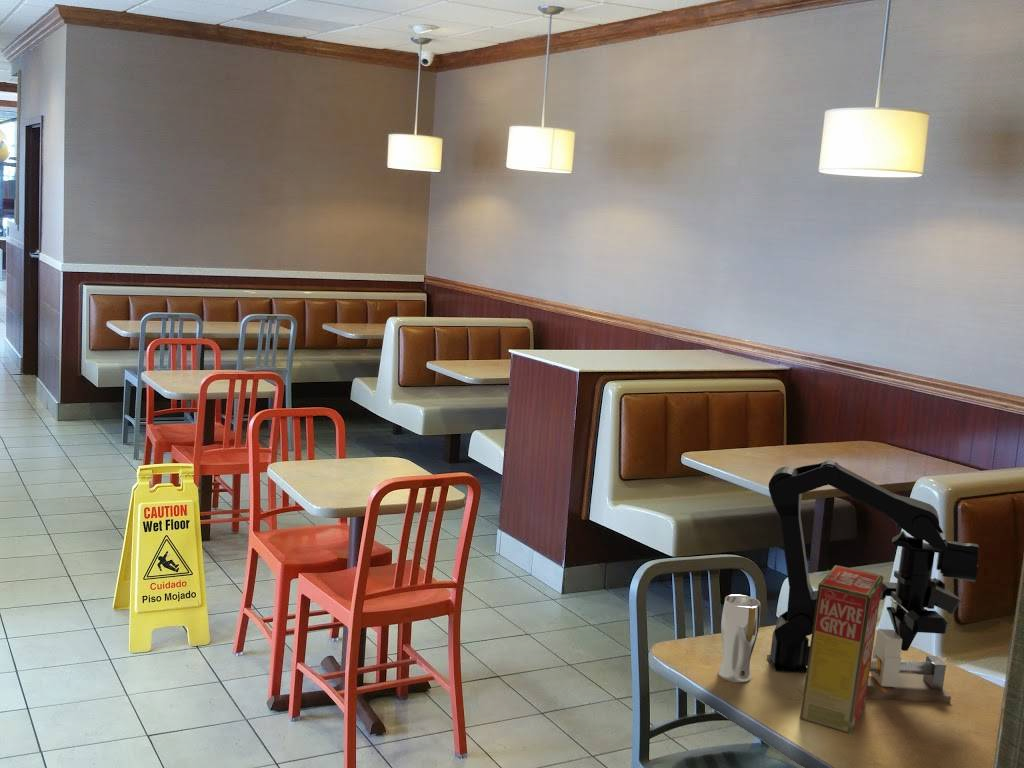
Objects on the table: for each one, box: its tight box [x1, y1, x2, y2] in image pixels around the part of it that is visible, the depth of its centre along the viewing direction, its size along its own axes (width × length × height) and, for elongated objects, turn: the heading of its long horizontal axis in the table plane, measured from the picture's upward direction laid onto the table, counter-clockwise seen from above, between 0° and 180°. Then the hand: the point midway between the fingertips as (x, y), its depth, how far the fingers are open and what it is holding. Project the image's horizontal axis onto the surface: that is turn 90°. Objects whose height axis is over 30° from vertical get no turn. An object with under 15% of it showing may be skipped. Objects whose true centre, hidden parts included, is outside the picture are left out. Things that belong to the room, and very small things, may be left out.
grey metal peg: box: [869, 655, 947, 690], centre depth 194 cm, size 17×4×5 cm, turn 92°
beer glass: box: [717, 594, 761, 684], centre depth 194 cm, size 7×7×15 cm
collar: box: [870, 628, 902, 687], centre depth 194 cm, size 3×6×9 cm, turn 2°
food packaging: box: [799, 564, 885, 735], centre depth 181 cm, size 13×9×25 cm
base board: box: [866, 672, 952, 703], centre depth 195 cm, size 18×9×1 cm, turn 92°
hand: (903, 649), depth 194 cm, fingers closed
